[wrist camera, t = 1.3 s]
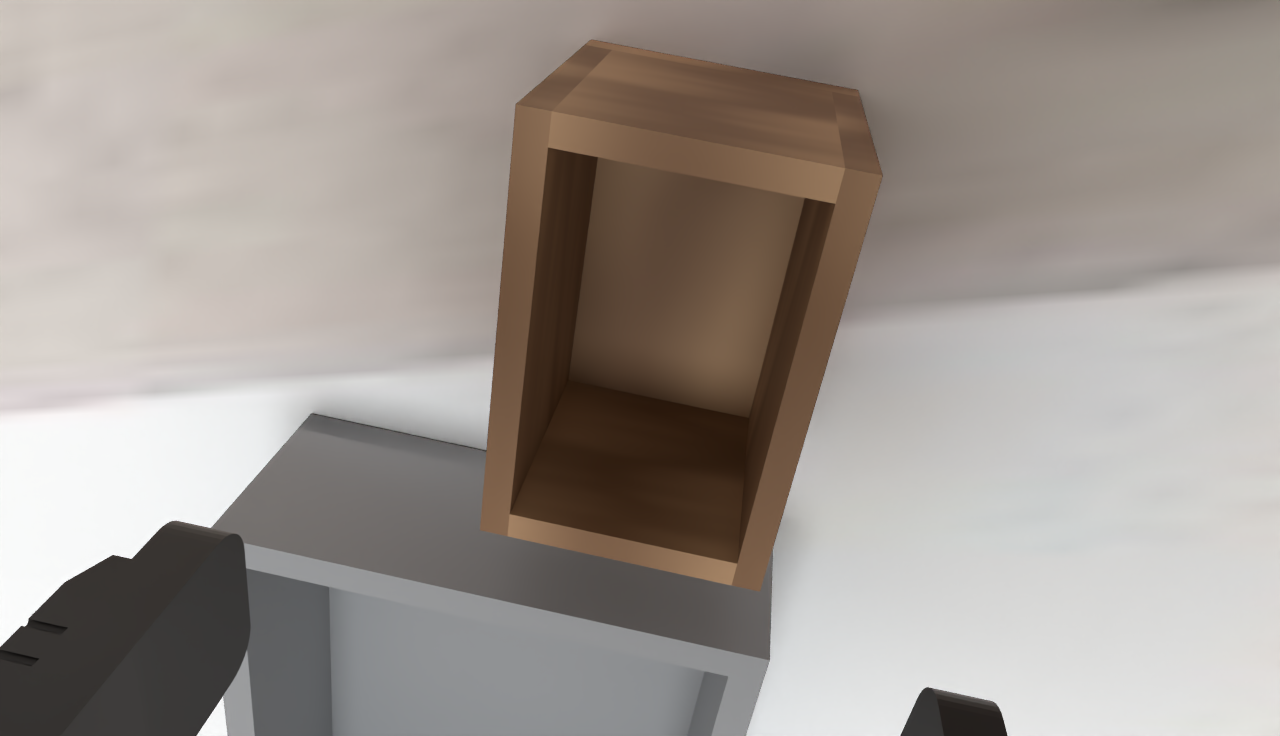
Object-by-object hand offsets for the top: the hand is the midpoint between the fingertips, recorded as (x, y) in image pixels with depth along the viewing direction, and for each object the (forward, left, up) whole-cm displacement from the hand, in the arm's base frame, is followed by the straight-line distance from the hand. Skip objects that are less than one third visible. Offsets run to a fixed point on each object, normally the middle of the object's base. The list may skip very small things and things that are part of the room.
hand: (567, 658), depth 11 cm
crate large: (+3, +15, -13) cm, 20 cm away
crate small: (0, 0, -14) cm, 14 cm away
